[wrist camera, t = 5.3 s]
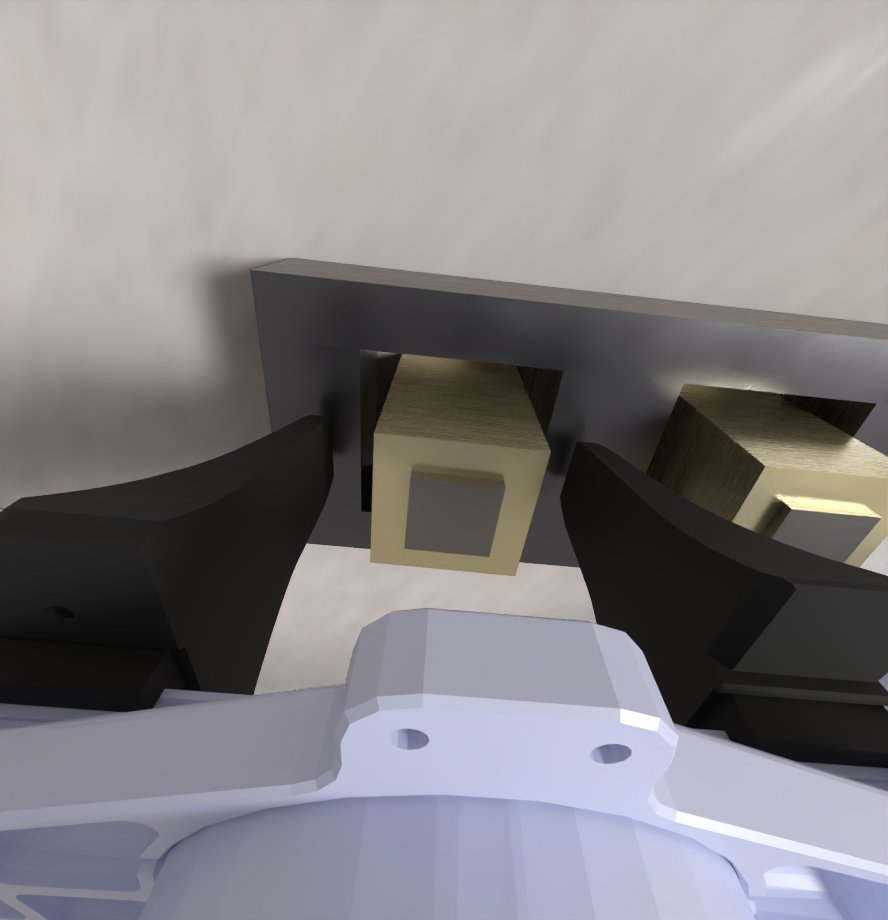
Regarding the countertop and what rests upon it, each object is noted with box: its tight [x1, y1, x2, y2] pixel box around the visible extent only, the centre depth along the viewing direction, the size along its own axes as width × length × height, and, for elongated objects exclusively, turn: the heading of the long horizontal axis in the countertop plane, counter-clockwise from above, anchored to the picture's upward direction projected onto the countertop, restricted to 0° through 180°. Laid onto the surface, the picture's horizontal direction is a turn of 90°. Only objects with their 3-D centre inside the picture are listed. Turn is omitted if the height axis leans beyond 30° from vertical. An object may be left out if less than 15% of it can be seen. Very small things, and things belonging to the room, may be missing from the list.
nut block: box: [370, 354, 551, 576], centre depth 13 cm, size 4×4×6 cm
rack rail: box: [250, 258, 888, 567], centre depth 14 cm, size 20×9×3 cm, turn 84°
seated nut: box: [646, 383, 888, 567], centre depth 13 cm, size 4×4×6 cm
